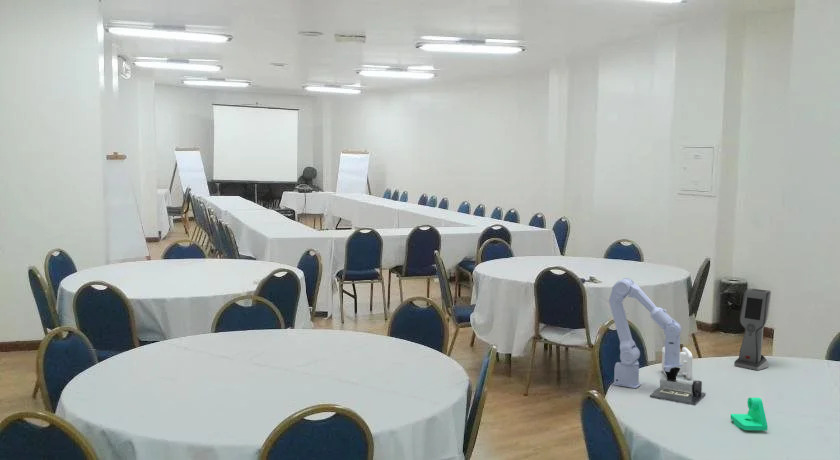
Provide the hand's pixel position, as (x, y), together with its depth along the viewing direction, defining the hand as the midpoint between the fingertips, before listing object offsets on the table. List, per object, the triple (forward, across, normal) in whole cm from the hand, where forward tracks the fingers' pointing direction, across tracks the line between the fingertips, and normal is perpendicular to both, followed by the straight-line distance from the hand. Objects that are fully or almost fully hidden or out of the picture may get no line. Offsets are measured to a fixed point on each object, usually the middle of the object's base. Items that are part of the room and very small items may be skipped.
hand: (671, 385), depth 277 cm
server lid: (+2, -6, -4) cm, 7 cm away
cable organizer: (+2, +24, +4) cm, 24 cm away
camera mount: (+3, -27, -33) cm, 43 cm away
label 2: (+2, -5, -6) cm, 7 cm away
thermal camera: (+2, +60, -20) cm, 64 cm away
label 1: (+2, -5, 0) cm, 5 cm away
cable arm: (+1, -3, -4) cm, 5 cm away
